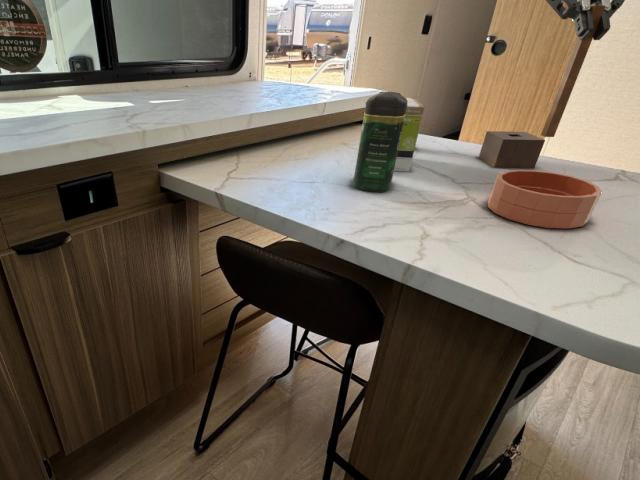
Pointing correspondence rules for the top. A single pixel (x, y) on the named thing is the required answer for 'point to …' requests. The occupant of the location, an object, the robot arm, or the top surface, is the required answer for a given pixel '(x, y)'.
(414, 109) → the tea box
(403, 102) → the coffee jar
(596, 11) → the stirring stick
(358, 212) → the top surface
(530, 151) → the block
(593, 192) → the bowl
